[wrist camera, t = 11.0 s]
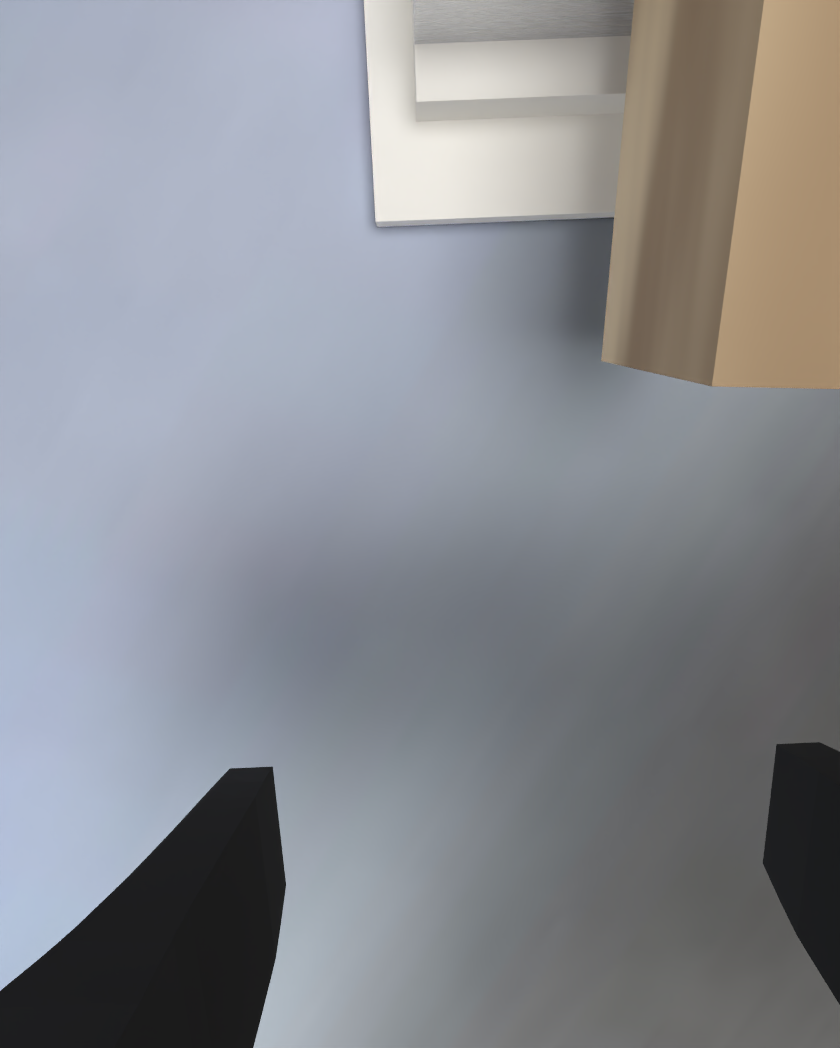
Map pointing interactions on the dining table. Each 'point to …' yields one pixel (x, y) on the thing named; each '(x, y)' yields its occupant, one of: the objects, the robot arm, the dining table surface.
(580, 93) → the ridge stand
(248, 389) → the dining table surface
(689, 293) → the oak bar
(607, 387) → the dining table surface
